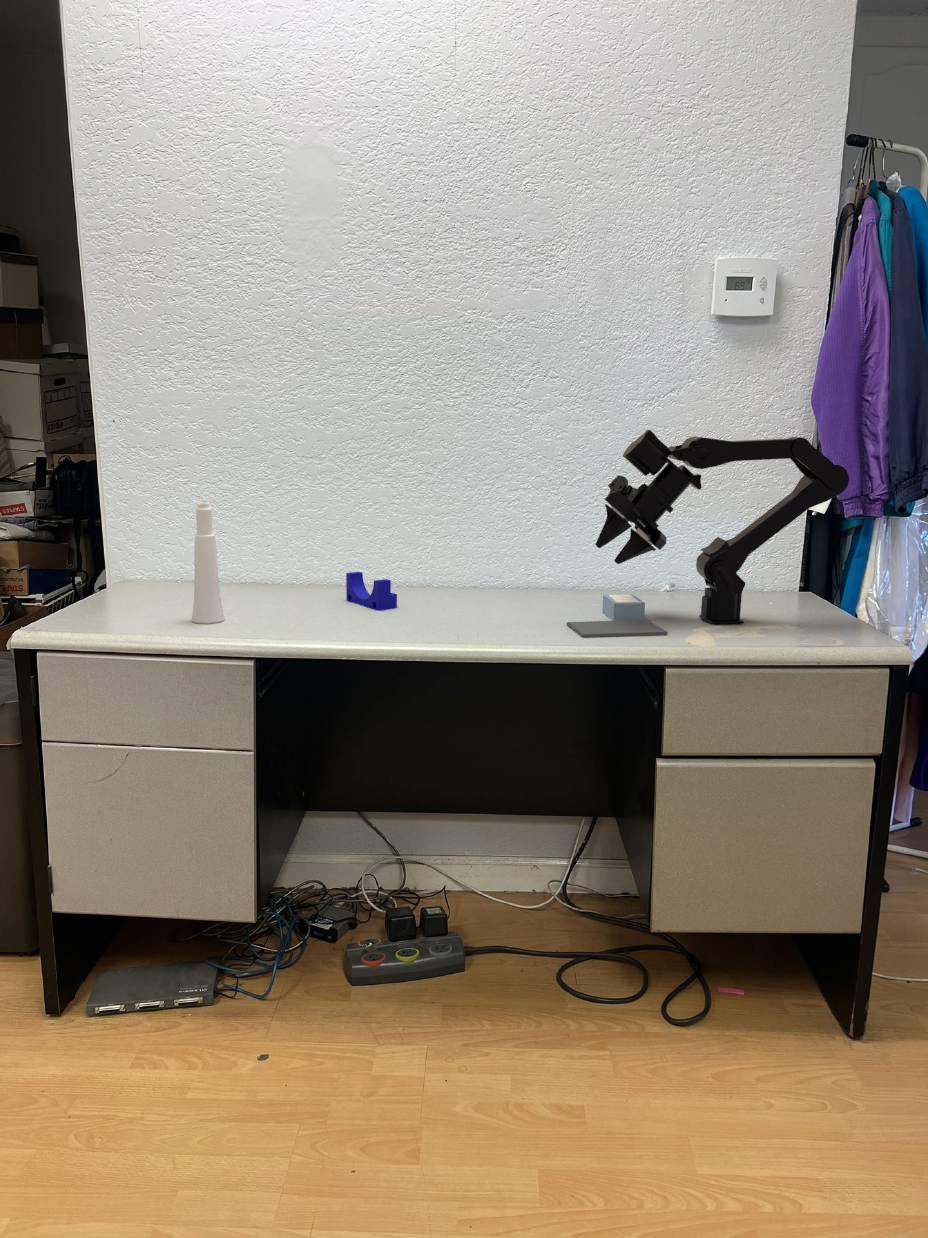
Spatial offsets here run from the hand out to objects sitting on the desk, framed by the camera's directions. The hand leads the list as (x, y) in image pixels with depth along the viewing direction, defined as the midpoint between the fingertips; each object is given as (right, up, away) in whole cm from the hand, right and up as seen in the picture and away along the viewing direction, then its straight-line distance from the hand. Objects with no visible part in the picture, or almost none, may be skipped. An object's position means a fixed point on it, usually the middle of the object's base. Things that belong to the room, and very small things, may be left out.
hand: (606, 554), depth 190 cm
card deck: (+4, -12, +5) cm, 14 cm away
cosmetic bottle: (-75, -13, -3) cm, 76 cm away
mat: (+1, -14, -6) cm, 15 cm away
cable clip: (-46, -10, +14) cm, 49 cm away
